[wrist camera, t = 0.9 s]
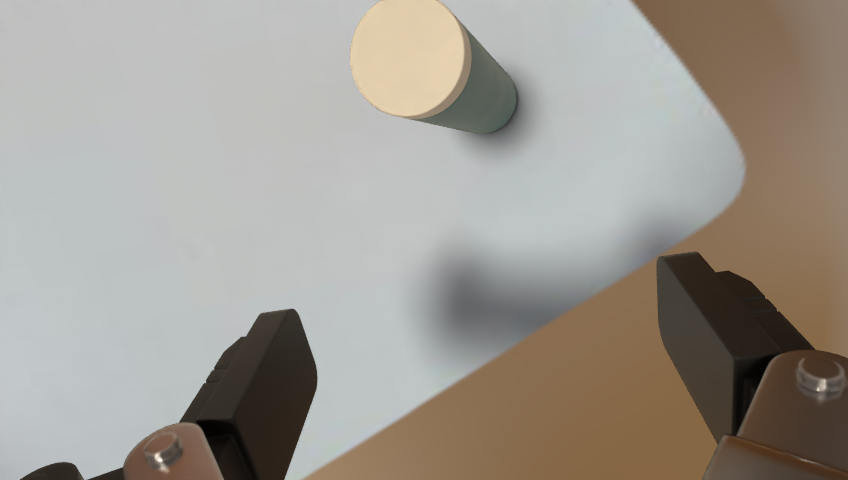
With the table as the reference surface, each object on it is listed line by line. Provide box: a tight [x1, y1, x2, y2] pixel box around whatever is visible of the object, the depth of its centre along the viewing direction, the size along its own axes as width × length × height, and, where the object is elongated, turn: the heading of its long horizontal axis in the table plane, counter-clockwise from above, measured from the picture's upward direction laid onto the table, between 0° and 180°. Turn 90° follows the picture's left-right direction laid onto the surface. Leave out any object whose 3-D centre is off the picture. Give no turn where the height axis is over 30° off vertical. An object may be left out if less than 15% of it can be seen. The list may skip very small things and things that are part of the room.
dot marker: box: [350, 0, 517, 134], centre depth 21 cm, size 3×3×13 cm
